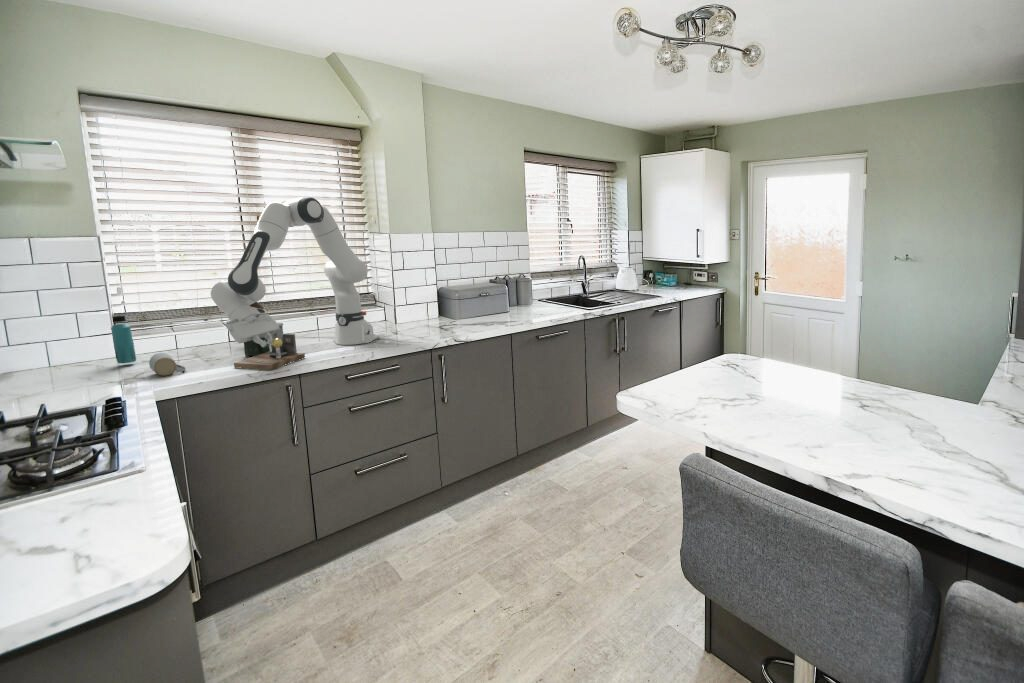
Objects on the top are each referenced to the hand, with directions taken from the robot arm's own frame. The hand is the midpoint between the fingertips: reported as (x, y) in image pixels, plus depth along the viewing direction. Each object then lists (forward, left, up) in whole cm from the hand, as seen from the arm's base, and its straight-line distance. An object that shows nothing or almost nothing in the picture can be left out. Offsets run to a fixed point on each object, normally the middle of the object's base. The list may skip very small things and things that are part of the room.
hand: (268, 344), depth 200 cm
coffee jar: (-19, -23, -10) cm, 31 cm away
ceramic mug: (+14, -34, -10) cm, 38 cm away
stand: (-9, -8, -10) cm, 15 cm away
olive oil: (-34, -37, -10) cm, 51 cm away
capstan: (-8, -3, -7) cm, 11 cm away
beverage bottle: (+7, -63, -10) cm, 64 cm away
